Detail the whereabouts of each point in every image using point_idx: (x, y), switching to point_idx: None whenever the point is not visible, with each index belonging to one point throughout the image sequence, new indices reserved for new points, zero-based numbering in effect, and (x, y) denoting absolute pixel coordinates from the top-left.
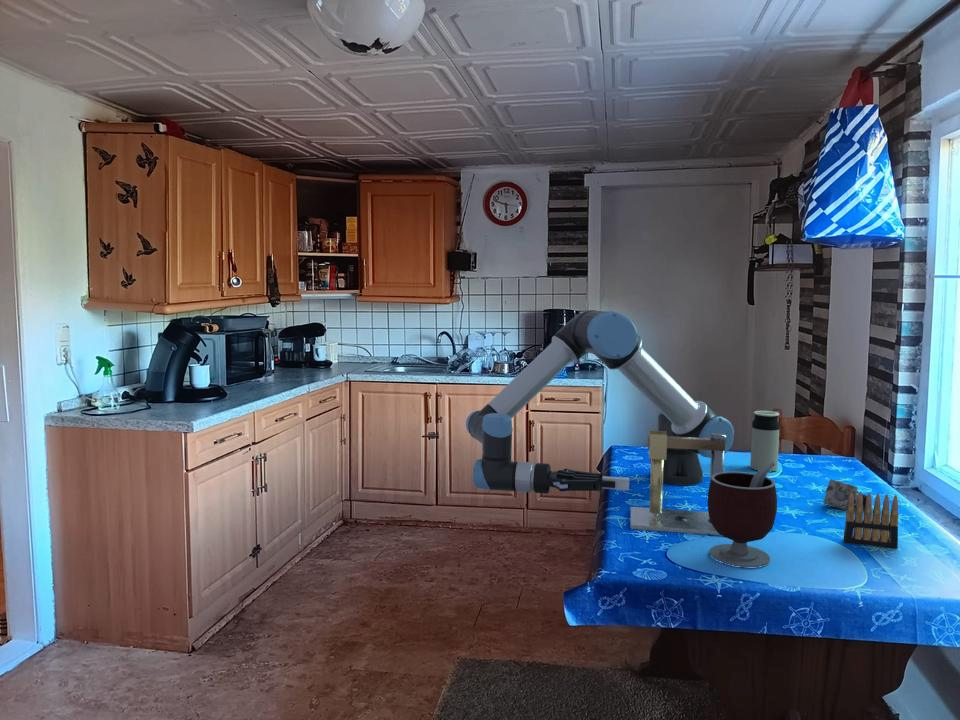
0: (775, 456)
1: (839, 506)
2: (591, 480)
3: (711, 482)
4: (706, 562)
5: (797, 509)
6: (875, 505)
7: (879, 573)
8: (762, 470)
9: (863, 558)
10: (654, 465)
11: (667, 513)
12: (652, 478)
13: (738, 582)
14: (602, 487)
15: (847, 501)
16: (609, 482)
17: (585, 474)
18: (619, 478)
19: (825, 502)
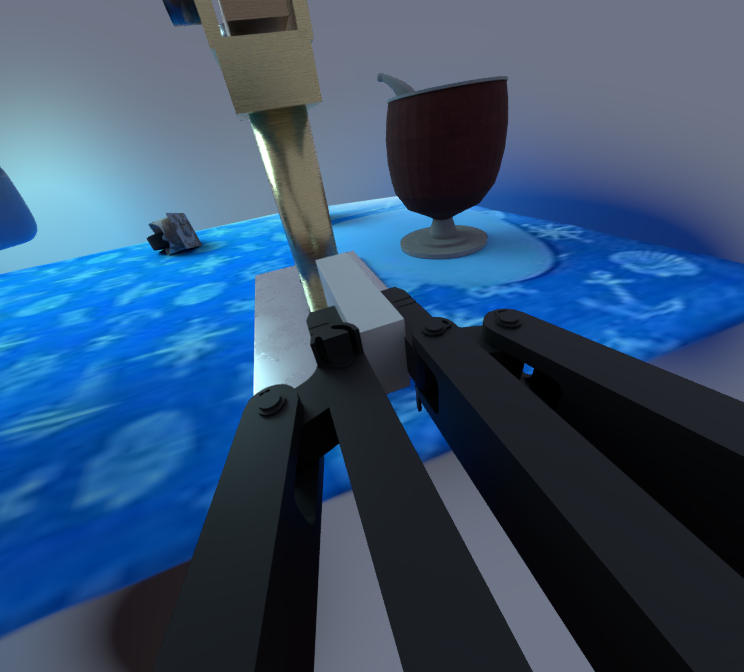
0: None
1: (195, 244)
2: (556, 343)
3: (484, 90)
4: (501, 249)
5: (199, 262)
6: None
7: (391, 208)
8: (403, 82)
9: (359, 216)
10: (313, 147)
11: (292, 333)
12: (324, 213)
13: (529, 225)
14: (407, 379)
15: (193, 234)
16: (415, 302)
17: (279, 579)
18: (350, 272)
19: (187, 246)
